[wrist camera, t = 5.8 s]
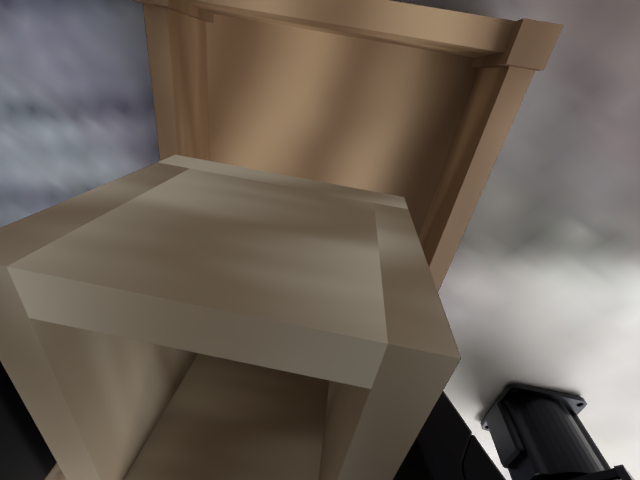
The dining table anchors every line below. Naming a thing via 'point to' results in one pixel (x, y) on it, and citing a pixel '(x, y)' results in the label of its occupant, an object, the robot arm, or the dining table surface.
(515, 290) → the dining table surface
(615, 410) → the dining table surface
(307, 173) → the crate
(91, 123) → the dining table surface
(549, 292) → the dining table surface
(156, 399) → the pale crate
